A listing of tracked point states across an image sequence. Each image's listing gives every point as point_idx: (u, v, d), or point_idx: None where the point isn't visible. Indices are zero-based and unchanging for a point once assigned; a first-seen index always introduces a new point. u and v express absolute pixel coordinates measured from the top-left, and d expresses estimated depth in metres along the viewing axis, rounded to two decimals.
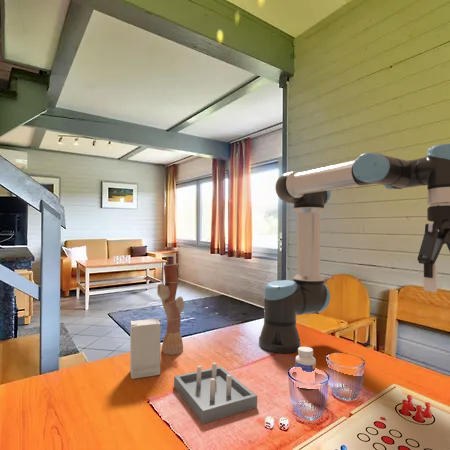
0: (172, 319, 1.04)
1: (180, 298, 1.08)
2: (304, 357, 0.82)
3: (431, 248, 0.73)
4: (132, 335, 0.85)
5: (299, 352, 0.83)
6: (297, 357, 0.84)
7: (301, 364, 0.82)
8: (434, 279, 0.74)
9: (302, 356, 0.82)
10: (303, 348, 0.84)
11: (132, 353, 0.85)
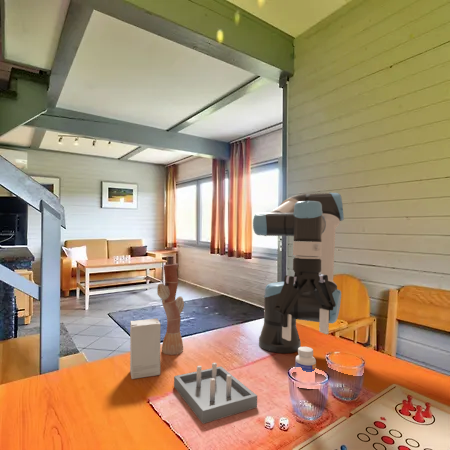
0: (172, 319, 1.04)
1: (180, 298, 1.08)
2: (304, 357, 0.82)
3: (284, 300, 0.79)
4: (132, 335, 0.85)
5: (299, 352, 0.83)
6: (297, 357, 0.84)
7: (301, 364, 0.82)
8: (288, 328, 0.79)
9: (302, 356, 0.82)
10: (303, 348, 0.84)
11: (132, 353, 0.85)
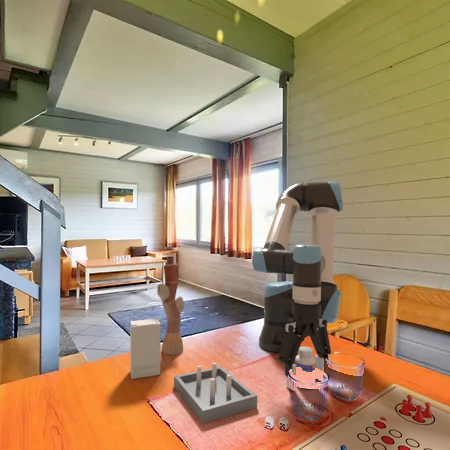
0: (172, 319, 1.04)
1: (180, 298, 1.08)
2: (303, 357, 0.82)
3: (286, 351, 0.79)
4: (132, 335, 0.85)
5: (299, 352, 0.83)
6: (297, 357, 0.84)
7: (301, 364, 0.82)
8: None
9: (302, 356, 0.82)
10: (303, 348, 0.84)
11: (132, 353, 0.85)
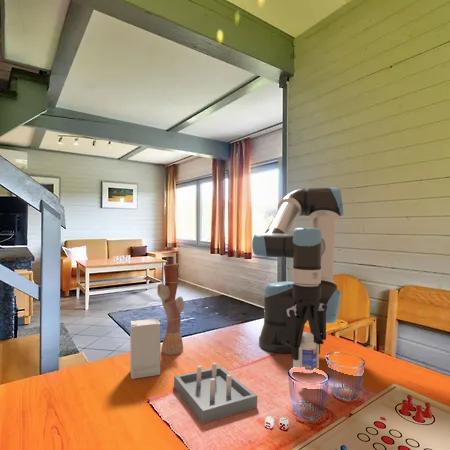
0: (172, 319, 1.04)
1: (180, 298, 1.08)
2: (304, 342, 0.83)
3: (291, 335, 0.80)
4: (132, 335, 0.85)
5: None
6: None
7: None
8: (299, 361, 0.82)
9: (303, 341, 0.83)
10: (303, 334, 0.85)
11: (132, 353, 0.85)
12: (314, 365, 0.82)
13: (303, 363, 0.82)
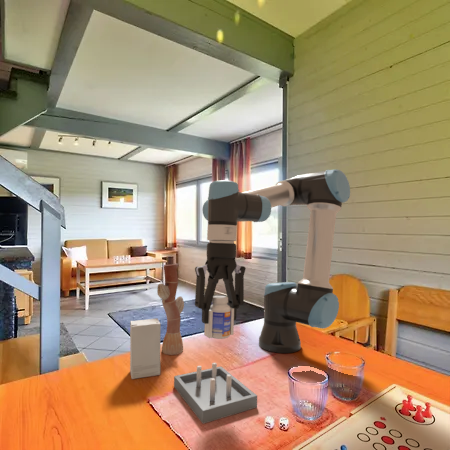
0: (172, 319, 1.04)
1: (180, 298, 1.08)
2: (216, 305, 0.76)
3: (199, 295, 0.74)
4: (132, 335, 0.85)
5: (212, 300, 0.77)
6: (211, 305, 0.77)
7: None
8: (209, 325, 0.75)
9: (215, 303, 0.76)
10: (217, 296, 0.78)
11: (132, 353, 0.85)
12: (226, 329, 0.75)
13: (214, 327, 0.75)
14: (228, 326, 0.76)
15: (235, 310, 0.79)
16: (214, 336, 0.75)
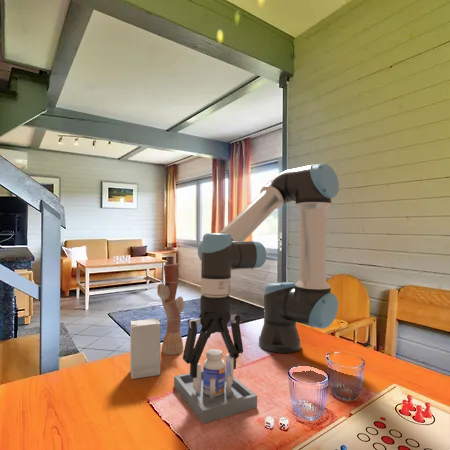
0: (172, 319, 1.04)
1: (180, 298, 1.08)
2: (210, 361, 0.75)
3: (188, 349, 0.72)
4: (132, 335, 0.85)
5: (206, 355, 0.76)
6: (205, 361, 0.77)
7: (206, 369, 0.75)
8: (197, 379, 0.73)
9: (209, 359, 0.75)
10: (212, 351, 0.77)
11: (132, 353, 0.85)
12: (220, 387, 0.75)
13: (208, 384, 0.74)
14: (222, 383, 0.75)
15: (235, 359, 0.79)
16: (208, 393, 0.74)
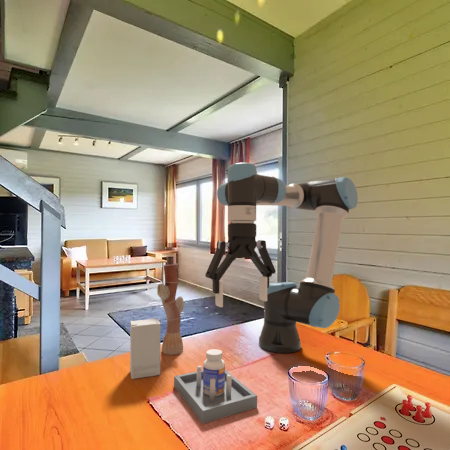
0: (172, 319, 1.04)
1: (180, 298, 1.08)
2: (210, 361, 0.75)
3: (214, 265, 0.76)
4: (132, 335, 0.85)
5: (206, 355, 0.76)
6: (205, 361, 0.77)
7: (206, 369, 0.75)
8: (219, 295, 0.77)
9: (209, 359, 0.75)
10: (212, 351, 0.77)
11: (132, 353, 0.85)
12: (220, 387, 0.75)
13: (207, 384, 0.74)
14: (222, 383, 0.75)
15: (268, 278, 0.84)
16: (208, 393, 0.74)
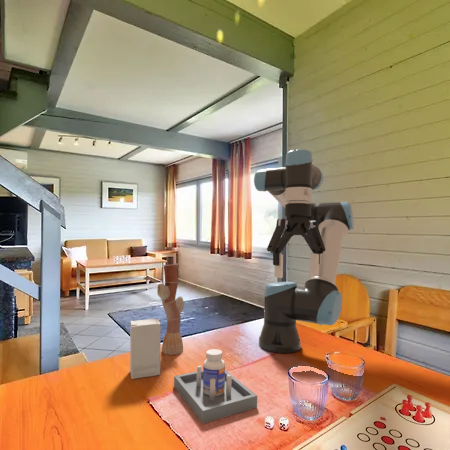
0: (172, 319, 1.04)
1: (180, 298, 1.08)
2: (210, 361, 0.75)
3: (276, 239, 0.84)
4: (132, 335, 0.85)
5: (206, 355, 0.76)
6: (205, 361, 0.77)
7: (206, 369, 0.75)
8: (280, 266, 0.85)
9: (209, 359, 0.75)
10: (212, 351, 0.77)
11: (132, 353, 0.85)
12: (220, 387, 0.75)
13: (207, 384, 0.74)
14: (222, 383, 0.75)
15: (319, 256, 0.93)
16: (208, 393, 0.74)
